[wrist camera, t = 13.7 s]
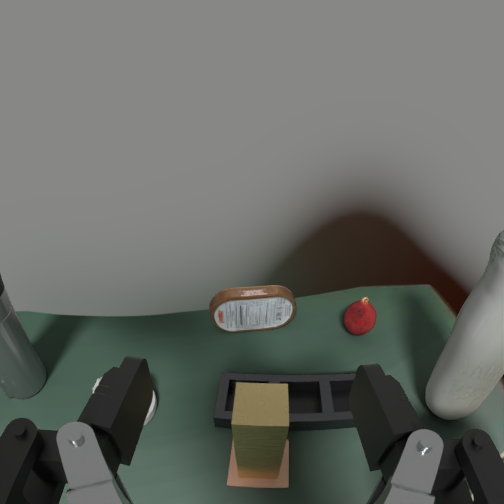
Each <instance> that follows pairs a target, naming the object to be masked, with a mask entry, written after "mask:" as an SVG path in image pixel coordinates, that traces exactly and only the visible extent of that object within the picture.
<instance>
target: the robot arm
mask: <svg viewBox="0 0 504 504" xmlns="http://www.w3.org/2000/svg"><path fill="white" fill-rule="evenodd" d="M46 376H47V374H46V369H45V367H44V366H43V364H42V362H41V360H40V358H39V357H38V355H37V353H36V352H35V350H34V348H33V346H32V344H31V342H30V341H29V339H28V337H27V335H26V333H25V331H24V329H23V327H22V325H21V323H20V321H19V319H18V316H17V314H16V312H15V310H14V308H13V305H12V303H11V301H10V299H9V296H8V294H7V292H6V289H5V286H4V284H3V281H2V279H1V275H0V387H1V388H2V389H3V391H4V392H5V393H6V395H7V396H8V397H9V398H12V397H16V398H20V399H24V398H29V397H31V396H33V395H35V394H36V393H37V392H39V391H40V389H41V388H42V387H43V385H44V384H45V381H46ZM152 399H153V386H152V382H151V378H150V373H149V368H148V364H147V361H146V359H143V358H135V357H129V356H127V357H125V359H124V360H123V362H122V364H121V366H120V367H119V368H116V367H113V368H112V369H110V370H109V371H108V372H106V373H105V374H104V375H103V377H102V378H101V380H100V382H99V385H98V386H97V387H96V389H95V390H94V393H93V394H92V396H91V397H90V399H89V401H88V403H87V404H86V406H85V408H84V410H83V412H82V413H81V415H80V417H79V419H78V420H77V422H71V423H68V424H65V425H64V426H63V427H61V428H60V430H59V431H52V430H38V429H37V427H36V426H35V424H34V423H33V422H32V421H31V420H29V419H26V418H18V419H15V420H13V421H11V422H10V423H9V424H8V426H7V427H6V429H5V430H4V432H3V434H2V436H1V437H0V504H59V501H60V498H61V495H62V492H63V489H64V487H65V484H66V483H68V484H69V488H70V489H69V490H67V498H68V501H69V504H134V503H133V502H132V500H131V498H130V496H129V494H128V492H127V490H126V488H125V486H124V484H123V482H122V480H121V478H120V476H119V474H118V472H117V470H118V467H119V464H124V465H128V466H130V463H131V460H132V457H133V454H134V451H135V448H136V445H137V443H138V440H139V437H140V434H141V431H142V428H143V425H144V422H145V419H146V417H147V414H148V411H149V408H150V405H151V403H152ZM349 406H350V410H351V413H352V416H353V419H354V422H355V425H356V428H357V431H358V434H359V437H360V440H361V443H362V446H363V449H364V452H365V456H366V459H367V462H368V465H369V468H370V471H374V470H379V469H381V472H382V476H381V477H380V479H379V481H378V483H377V485H376V487H375V489H374V491H373V493H372V494H371V496H370V498H369V500H368V502H367V504H504V462H503V460H502V458H501V456H500V454H499V452H498V450H497V448H496V447H495V445H494V443H493V441H492V439H491V438H490V436H489V435H488V434H487V433H486V432H484V431H482V430H479V429H472V430H470V431H468V432H466V434H465V435H464V436H463V437H462V439H452V440H443V439H441V437H440V436H439V435H438V434H437V433H435V432H433V431H431V430H427V429H424V427H423V425H422V424H421V422H420V420H419V418H418V416H417V414H416V412H415V410H414V408H413V407H412V405H411V403H410V402H409V399H408V397H407V396H406V394H404V390H403V388H402V387H401V385H400V383H399V382H398V381H397V380H395V379H394V378H393V377H392V376H391V375H387V376H385V374H384V372H383V370H382V368H381V366H380V365H379V364H371V365H360V366H359V367H358V369H357V372H356V375H355V378H354V382H353V385H352V388H351V391H350V394H349ZM465 479H467V481H468V484H469V486H470V489H471V491H472V494H473V498H474V500H473V499H472V497H471V494H470V492H469V489H468V487H467V484H466V482H465Z"/></svg>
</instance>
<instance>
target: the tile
mask: <svg viewBox="0 0 504 504" xmlns="http://www.w3.org/2000/svg"><path fill="white" fill-rule="evenodd" d="M227 486H237V487H252V488H288V487H289V440H286V444H285V449H284V454H283V458H282V463H281V467H280V472H279V476H278V479H259V478H239V476H238V469H237V463H236V456H235V449H234V441H233V442H232V449H231V457H230V465H229V472H228V480H227Z"/></svg>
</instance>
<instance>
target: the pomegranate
mask: <svg viewBox="0 0 504 504" xmlns="http://www.w3.org/2000/svg"><path fill="white" fill-rule="evenodd" d="M368 301H369V299H368V298H367V297H363V298H362V299H361V300H360V301H356V302H354V303H352V304H351V305H350V306H349V307H348V308H347V310H346V312H345V315H344V324H345V327H346V329H347V330H348V331H349V332H350V333H352V334H354V335H363V334H366V333H368V332H369V331H371V329H372V328H373V327H374V325H375V322H376V311H375V309H374V307H373V306H372V305H371V304H370V303H369V302H368Z"/></svg>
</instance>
